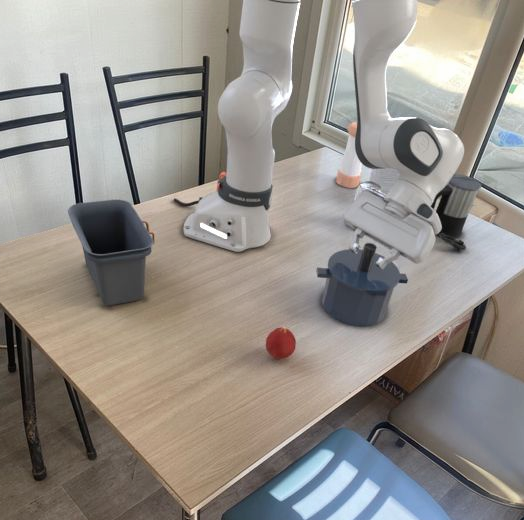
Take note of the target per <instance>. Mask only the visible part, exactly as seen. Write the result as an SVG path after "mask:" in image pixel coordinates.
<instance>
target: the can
mask: <svg viewBox="0 0 524 520" xmlns="http://www.w3.org/2000/svg"><path fill="white" fill-rule="evenodd" d="M370 188H373V189H375V190H376V191H378V192H381V191H380V189H381V186H380V185H379V184H377V183H375V182H372V181H369V180H363V181H360V182H359V185H358V186H357V187H356V191H355V195H354V199H353V201H354V200H355V199H356V198H357V196H358V195H359V194H360V192H361V191H362V190H365V189H370ZM368 192H369V191H368ZM350 228H351V229H353V228H352V227H350Z"/></svg>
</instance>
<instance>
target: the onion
mask: <svg viewBox="0 0 524 520" xmlns="http://www.w3.org/2000/svg"><path fill="white" fill-rule="evenodd" d="M296 344H297V340H296V337H295V336H294V333H293V332H292V331H291V330H290V329H288V328H287V327H285V326H282V327H276V328H275V329H273V330H272V331H270V332H269V334H268V335H267V337H266V339H265V349H266V351H267V353H268V354H269V355H270V356H271V357H273V358H275V359H276V360H283V359H286V358H289V357H290V356H292V355H293V353H294V352H295V350H296V347H297V345H296Z"/></svg>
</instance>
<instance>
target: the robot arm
mask: <svg viewBox="0 0 524 520" xmlns="http://www.w3.org/2000/svg"><path fill="white" fill-rule="evenodd" d="M300 6H301V0H242V6H241V7H242V8H241V16H240V23H239V38H240V41H241V44H242V52H243V68H242V72H241V74H240V76H238V77H237V78H235V79H234V80H232V81H231V82H230V83H228V85H227V86H226V87H225V89H224V91H222V94H221V95H220V97H219V100H218V102H217V113H218V115H217V116H218V118H219V121H220V123H221V125H222V127H223V128H224V132H225V139H226V145H227V155H226V156H227V157H226V171H221V172H220V174H219V176H218V180H217V185H216V190H215V191H213V192H211V193H209V194H207V195H205V196H202V197H201V196H199V198H198V200H194V201H191V202H186V203H185V202H182V201H180V200H179V199H177V198H176V197H174V198H173V202H174V203H177V204H178V205H180V206H182V207H192V206H195V205H196V206H195V208H194V211H193V212H191V214H189V215H188V217H186V219H185V221H184V223H183V229H182V230H183V234H184V236H185V237H187V238H190V239H193V240H196V241H199V242H202V243H206V244H209V245H212V246H215V247H219V248H222V249H225V250H228V251H231V252H235V253H240V252H243V251H245V250H247V249H252V248H253V249H254V248H259V247H262V246H264V245H266V244H268V242H270V240H271V239H272V238H271V237H272V233H271V229H270V228H271V227H270V207H271V205H272V198H273V192H274V191H273V187H274V184H273V182H272V181H273V176H274V175H273V174H274V165H275V159H276V158H275V157H276V151H275V149H274V147H273V136H272V132H273V131H272V129H273V125H274V121H275V119H276V117H277V116H279V114H281V113H282V112H283V111H284V110H285V108H286V107H287V105H288V103H289V101H290V99H291V95H292V91H293V82H292V71H293V70H292V69H293V68H292V67H293V46H294V40H295V34H296V28H297V22H298V18H299V11H300ZM351 6H352V13H353V23H354V44H353V51H352V65H353V66H352V67H353V81H354V82H353V83H354V92H355V93H354V94H355V103H356V118H357V119H356V120H357V121H356V122H357V130H356V137H355V151H356V154H357V157H358V159H359V160H360V162H361V163H362V164H363V165H362V166H364V167H366V168H368V169H370V170H372V169H383V168H390V169H396V170H397V171H398V172H399V174H400V176H399V178H398V180H397V181H396V182H395V184H394V185H393V186H392V188H391V189H390V190H389V192H388V193H387V195H385V194H383V193H381V192H378V191H376V190H375V189H373V188H370V189H365V190H362V191H361V192H360V194H359V195H358V196H357V198H356V199H355V198H354V199H355V200H354V199H353V201H352V202H351V203H350V204H349V206H348V207H347V208H346V209H345V210H344V212H343V213H342V220H343V221H344V223H345V224H346V225H347V226H348V227H350V228H351V227H352V228H351V229H353V230H354V231H353V237H352V243H351V244H350V245H349V247H348V249H349V250H350V251H351V252H353V253H355V254H357V252H358V251H359V250H360V249H361V246H360V244H359V242H360V239H363V238H364V237H365V236H366V237H368V239H371V240H373V241H375V242H376V243H378V244H380V245H382V246H384V248H387V249H389V250H390V251H389V253H390V254H389V255H387V256H384V257H385V258H381V257H380V258H379V259H378V261H377V262H376V266H377V267H379V268H380V269H382V270H383V269H384V268H385V266H386V265H387V264H388V263H391V262H393V263H394V261H397V260H398V259H399V258H400V256H401V257H403V258H405V259H407V260H408V261H410V262H412V263H414V264H415V265H418V264H422V263H423V262H424V261H425V260H426V258H427V257H428V255H430V252H431V250H432V249H433V247H434V245H435V243H436V240H437V239H436V235H438V233H439V232H440V231H441V229H442V226H441V222H440V219H439V216H438V214H437V213H436V210H435V209H434V210H433V209H432V208H431V207H430V206H431V205H432V204H433V202H434V199H435V197H436V195H437V194H438V193H439V192H440V191H441V190H442V189H443V188H444V187H445V186H446V185H447V183H448V182H449V181H450V179H451V178H452V176H453V175H454V174H456V172H457V170H458V168H459V166H460V165H461V163H462V160H463V158H464V154H465V146H464V144H463V141H462V140H461V138H460V137H459V136H458V135H457V134H456V133H455V132H453V130H450V129H447V128H438V127H435V126H432V125H430V124H429V123H428V122H427V121H426V120H425V119H423V118H420V117H413V116H412V117H411V116H410V117H407V116H406V117H395V118H393V117H391V115H390V113H389V110H388V96H387V95H388V94H387V78H386V73H387V68H388V64H389V61H390V60H391V58H392V56H393V55H394V53H395V52H396V51H397V50H398V48H400V47H401V46H402V45H403V44H404V43H405V42H406V40H407V39H408V38H409V36H410V35H411V33H412V31H413V30H414V28H415V26H416V23H417V19H418V0H351ZM368 191H369V192H368Z"/></svg>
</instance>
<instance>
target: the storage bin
mask: <svg viewBox="0 0 524 520" xmlns="http://www.w3.org/2000/svg"><path fill="white" fill-rule="evenodd" d="M67 213H68V214H67V215H68V216H69V220H70V222H71V225H72V227H73V229H74V232H75V233H76V235H77V238H78V240H79V242H80V244H81V247H82V251H83V255H84V261H85V265H86V268H87V270H88V273H89V275H90V277H91V280H92V282H93V284H94V286H95V288H96V291H97V292H98V295H99V296H100V300H101V303H102V304H103V306H106V307H107V306H115V305H119V304H125V303H130V302H135V301H140V300H142V299H144V297H145V282H146V281H145V278H146V277H145V276H146V260H147V257H148V256H150V255H151V253H152V250H153V249H152V246H153V245H155V233H154V232H153V231H150V227H149V223H148V221H146V220H142V219H141V217H140V216H139V214H138V212H137V211H136V209H135V208H134V206H133V205H132V204H131V202H129V201H127V200H124V199H107V200H98V201H87V202H78V203H75V204H73V205H71V206H70V207H69V208H68V209H67Z"/></svg>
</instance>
